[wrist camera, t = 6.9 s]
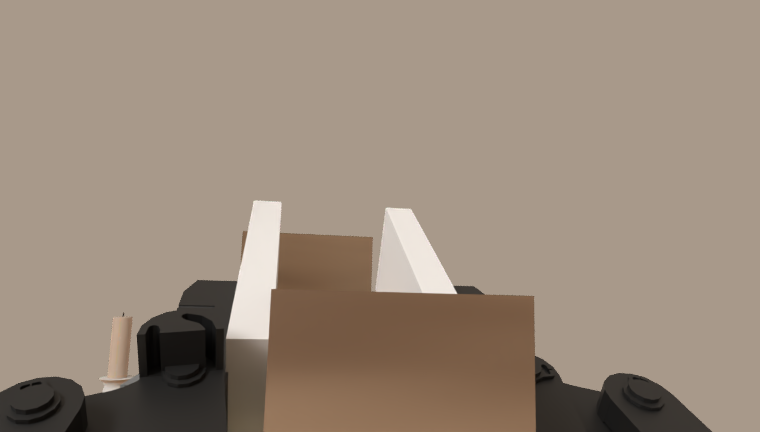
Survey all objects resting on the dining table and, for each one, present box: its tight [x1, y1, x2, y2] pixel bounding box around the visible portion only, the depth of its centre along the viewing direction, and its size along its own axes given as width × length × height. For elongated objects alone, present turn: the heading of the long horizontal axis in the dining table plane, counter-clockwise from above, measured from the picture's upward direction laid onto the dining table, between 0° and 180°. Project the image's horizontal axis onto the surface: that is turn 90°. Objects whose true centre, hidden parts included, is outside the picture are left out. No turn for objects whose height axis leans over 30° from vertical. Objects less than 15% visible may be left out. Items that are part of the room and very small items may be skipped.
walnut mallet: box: [241, 231, 536, 432], centre depth 20 cm, size 30×7×6 cm, turn 11°
